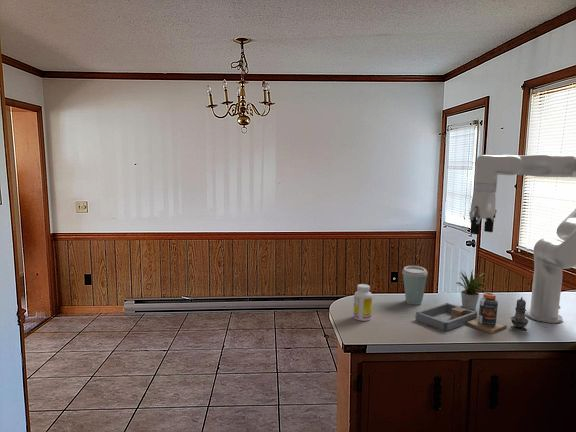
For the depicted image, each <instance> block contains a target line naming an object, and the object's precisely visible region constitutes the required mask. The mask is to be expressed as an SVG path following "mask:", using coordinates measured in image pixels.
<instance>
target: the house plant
mask: <svg viewBox="0 0 576 432" xmlns="http://www.w3.org/2000/svg"><path fill="white" fill-rule="evenodd" d="M474 270H475V268H474V269H473V270H472V271H470V273H471V274H470V278H468V275H467V273H466V272H464V271H463V270H461V271H459V272H457V273H458V275H459V279H461V280H462V282H463V283H462V282H460V281H457V282H455V283H454V284H455V285H460V286H462V287H463V288H464V290H463V289H462V290H461V291H460V296H461V306H462V308H465V309H468V310H476V308H477V305H478V301H479V298H480V293H479V292H481V291H482V290H483V291H484V292H485V288H484V287H482V286H485V283H483V282H482V283H480V282H479V281H480V280H482V278H483V279H484V278H486V276H484V277H483V275H485V272H483V273H481V274H479V275H478V273H476V274H475V275H473V272H474ZM451 271H452V272H453V270H451ZM462 271H463V272H464V273H463V272H462ZM459 273H460V274H459ZM477 275H478V276H477ZM475 276H477V277H476V278H475ZM477 291H479V292H477Z"/></svg>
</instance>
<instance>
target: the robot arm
mask: <svg viewBox="0 0 576 432" xmlns="http://www.w3.org/2000/svg"><path fill="white" fill-rule="evenodd" d="M499 175H500V176H510V177H511V176H518V175H519V176H529V177H530V176H531V177H538V178H542V177H543V178H576V154H565V153H564V154H559V153H558V154H556V153H553V154H552V153H551V154H550V153H549V154H547V153H541V154H532V155H531V154H530V155H513V154H502V155H501V154H500V155H492V154H491V155H489V154H483V155H478V156H477V158H476V165H475V179H474V190H473V193H472V197H471V198H472V199H471V204H470V211H469V220H470V232H469V233H470V234H472V235H477V236H478V235H479V234H480V229H481V228H480V227H481V226H480V222H481V220H483V219H485V221H484V230H483V231H484V232H486V233H493V231H494V223H495V218H496V214H497V212H498V211H497V209H496V193H497V186H498V185H497V184H498V176H499ZM556 235H557V237H558V238H559V239H560V240H559V239H558V238H557V239H556V238H552V237H544V238H541V239H539V240H537V241H536V243H535V244H534V247H533V259H534V261H533V262H534V263H533V265H534V268H533V279H532V289H531V299H530V308H529V309H526V311H525V317H527V318H529V319H531V320H533V321H537V322H540V321H542V322H541V323H546V322H547V323H548V324H559V322H560V323H562V322H563V317H562V316H561V315H560V314H559V312H560V311H559V310H560V309H561V306H560V301H561V293H562V291H561V290H562V283H563V277H564V276H563V270H564V269H565V270H567V269H572V268H574V267H575V266H576V208H574V210H573V211H571V212H570V214H569V215H568V216H567V217H565V218H564V220H562V221H561V223H560V224H559V225H558V226H557V228H556Z"/></svg>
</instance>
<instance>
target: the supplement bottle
mask: <svg viewBox="0 0 576 432" xmlns="http://www.w3.org/2000/svg"><path fill="white" fill-rule="evenodd" d="M356 289H357V290H356V291H355V292H354V295H353V296H354V297H353V298H354V302H353V318H354V319H355V320H357V321H361V322H367V321H370V320H371V319H372V311H373V310H372V309H373V306H372V305H373V304H372V303H373V294H372V292H370V290H371V286H370V285H369V284H365V283H360V284H357V287H356Z"/></svg>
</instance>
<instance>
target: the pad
mask: <svg viewBox="0 0 576 432" xmlns="http://www.w3.org/2000/svg"><path fill="white" fill-rule="evenodd" d="M478 319H479V317H477V318H476V319H473V320H471V321H468V322H466V324H465V325H466V326H469V327H472V328H474V329H477V330H480V331H483V332H486V333H489V334H492V335H493V334H495V333H497V332H500V331H502V330H504V329H507V326H508V325H507V324H505V323H501V322H498V321H496V325H494V326H486V325H482V324H480V323H479V322H478Z"/></svg>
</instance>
